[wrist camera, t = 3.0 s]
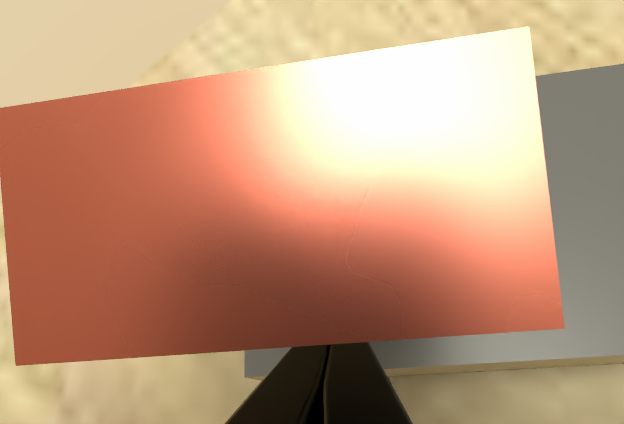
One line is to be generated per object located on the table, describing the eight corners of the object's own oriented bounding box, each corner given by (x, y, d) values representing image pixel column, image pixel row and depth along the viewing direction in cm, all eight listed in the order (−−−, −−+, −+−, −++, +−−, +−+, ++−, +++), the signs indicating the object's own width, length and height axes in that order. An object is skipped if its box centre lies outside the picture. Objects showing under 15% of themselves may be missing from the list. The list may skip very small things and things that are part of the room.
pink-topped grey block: (457, 256, 13) (565, 328, 4) (270, 272, 14) (16, 365, 5) (446, 160, 13) (529, 27, 4) (261, 182, 14) (-6, 108, 5)
